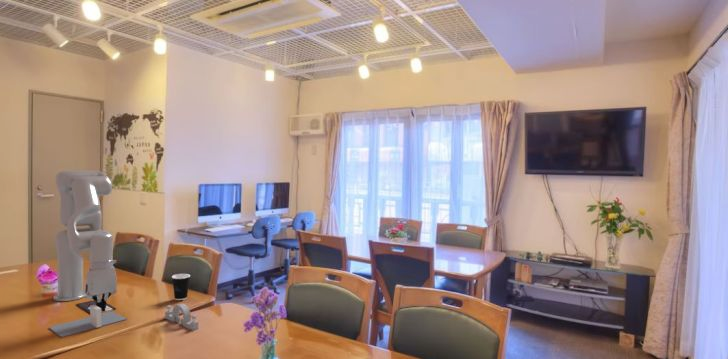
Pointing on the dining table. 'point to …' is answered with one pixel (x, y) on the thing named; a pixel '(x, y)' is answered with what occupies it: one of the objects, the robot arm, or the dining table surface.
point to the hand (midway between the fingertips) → (101, 310)
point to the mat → (84, 324)
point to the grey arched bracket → (187, 316)
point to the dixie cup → (180, 286)
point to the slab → (95, 316)
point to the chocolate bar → (87, 304)
